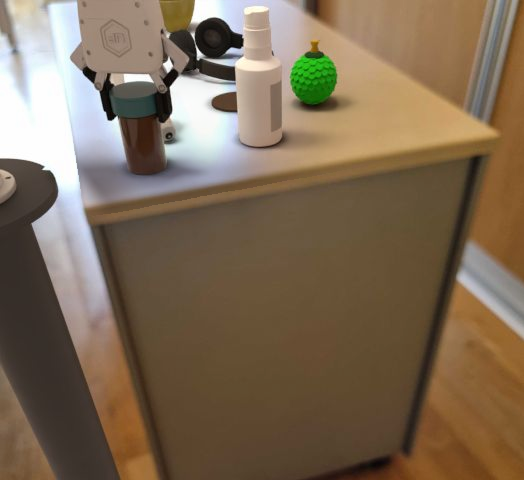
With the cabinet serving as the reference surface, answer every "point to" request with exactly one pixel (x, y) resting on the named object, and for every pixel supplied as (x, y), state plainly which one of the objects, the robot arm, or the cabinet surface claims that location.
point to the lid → (133, 99)
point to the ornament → (313, 76)
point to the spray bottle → (258, 83)
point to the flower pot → (177, 14)
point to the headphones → (209, 47)
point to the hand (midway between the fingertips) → (139, 117)
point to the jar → (143, 144)
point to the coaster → (225, 102)
